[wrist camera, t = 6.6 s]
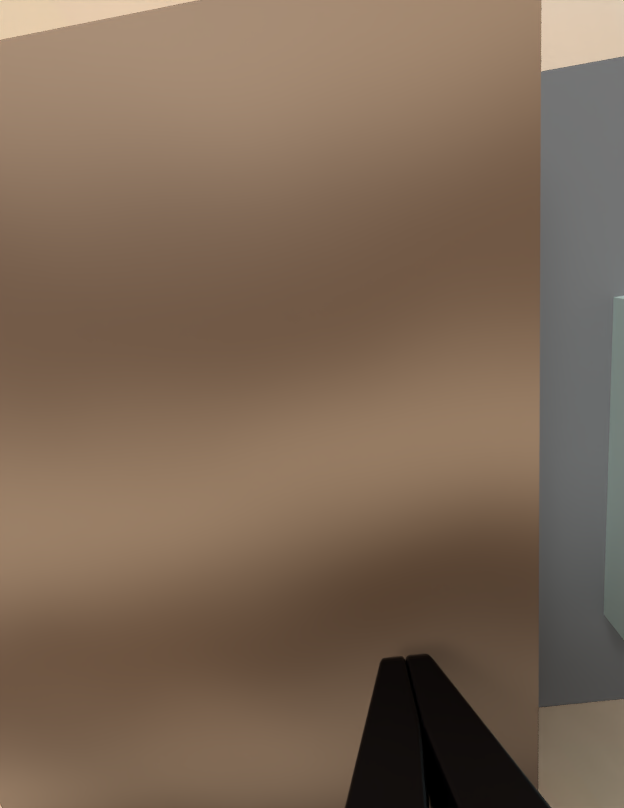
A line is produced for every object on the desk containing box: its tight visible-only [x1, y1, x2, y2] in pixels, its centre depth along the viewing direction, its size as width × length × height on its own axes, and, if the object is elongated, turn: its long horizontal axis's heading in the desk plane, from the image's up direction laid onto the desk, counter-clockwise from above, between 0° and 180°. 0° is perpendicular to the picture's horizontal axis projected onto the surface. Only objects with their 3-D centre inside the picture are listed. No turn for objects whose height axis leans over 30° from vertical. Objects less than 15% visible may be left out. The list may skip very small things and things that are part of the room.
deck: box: [0, 0, 541, 808], centre depth 11 cm, size 20×12×4 cm, turn 9°
